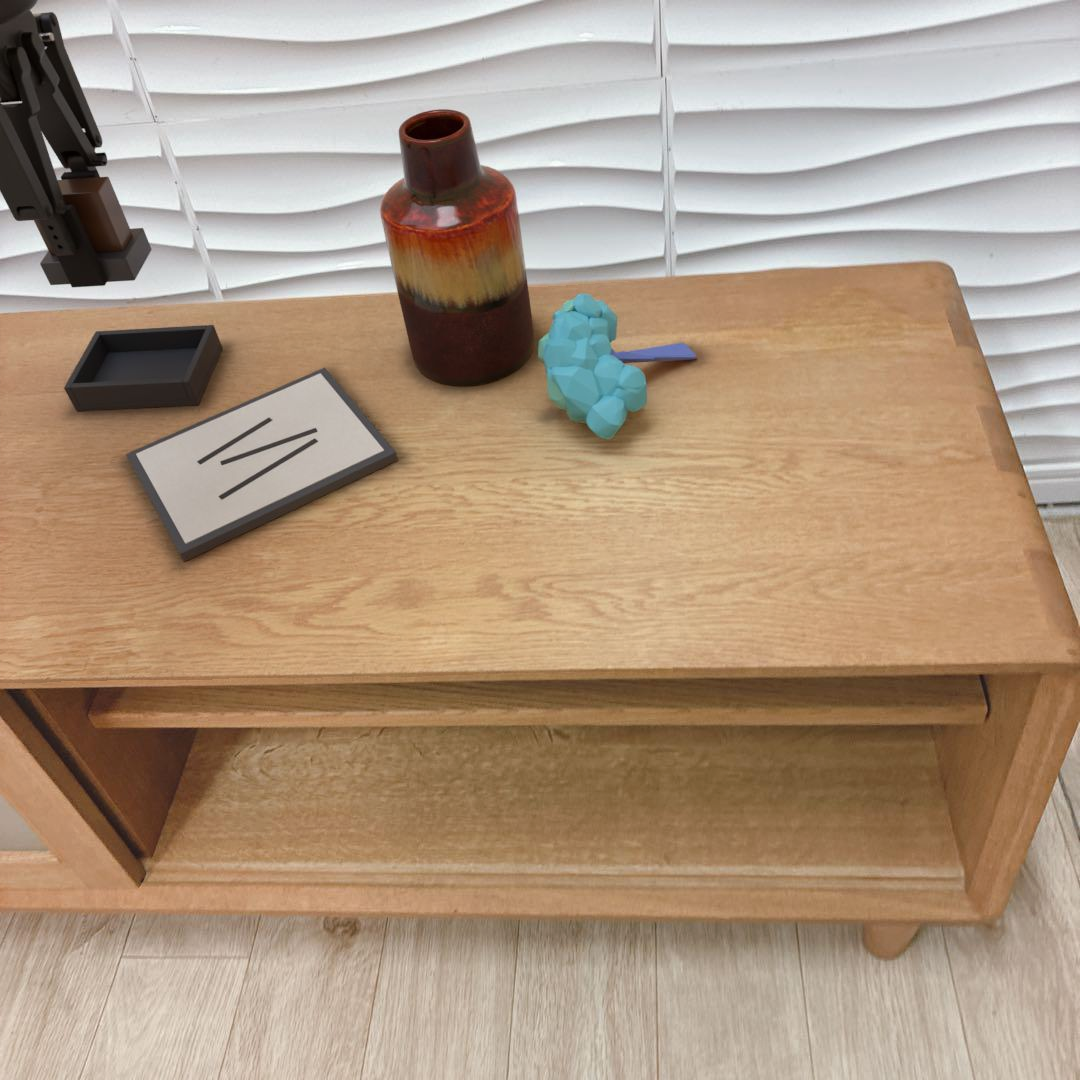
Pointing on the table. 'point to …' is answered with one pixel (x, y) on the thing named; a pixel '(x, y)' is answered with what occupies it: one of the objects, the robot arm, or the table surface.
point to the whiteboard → (258, 461)
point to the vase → (457, 255)
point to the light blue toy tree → (596, 366)
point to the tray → (144, 368)
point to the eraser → (100, 231)
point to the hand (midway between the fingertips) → (100, 264)
